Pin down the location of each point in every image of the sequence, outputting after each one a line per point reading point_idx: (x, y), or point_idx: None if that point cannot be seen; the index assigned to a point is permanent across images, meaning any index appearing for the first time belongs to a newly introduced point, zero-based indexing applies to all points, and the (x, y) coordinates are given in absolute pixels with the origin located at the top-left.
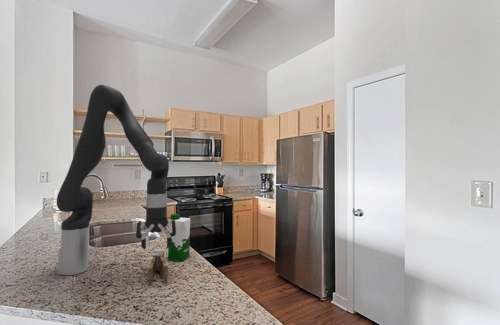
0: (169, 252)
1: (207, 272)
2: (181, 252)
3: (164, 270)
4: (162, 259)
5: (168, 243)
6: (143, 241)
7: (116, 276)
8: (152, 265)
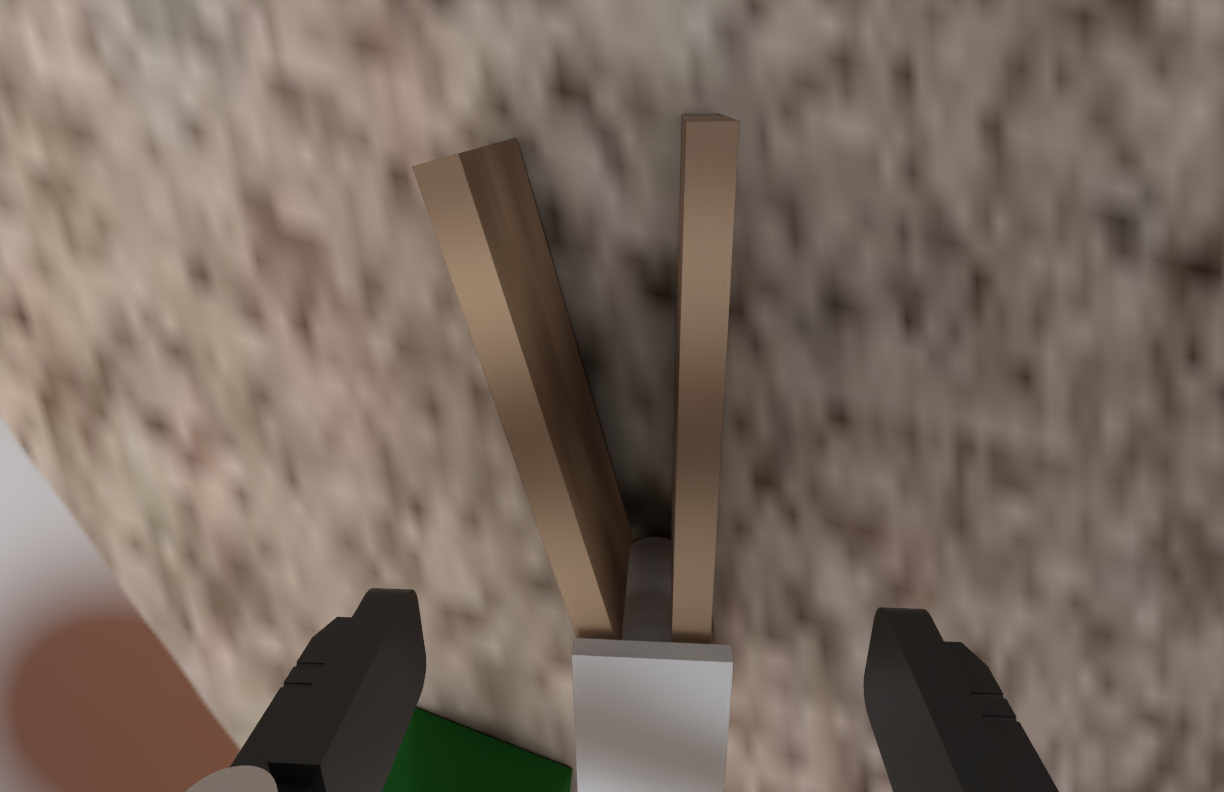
0: None
1: (71, 371)
2: None
3: (492, 196)
4: (557, 514)
5: (341, 644)
6: (993, 754)
7: (1111, 497)
8: (685, 285)
